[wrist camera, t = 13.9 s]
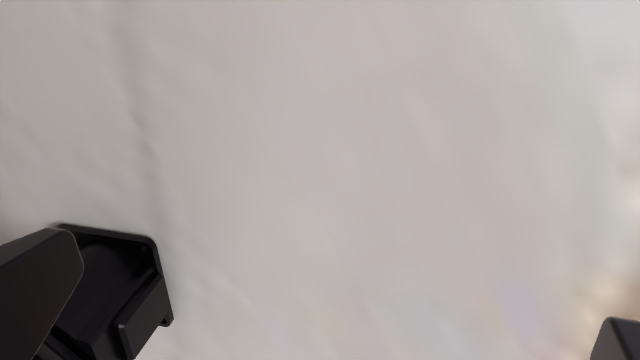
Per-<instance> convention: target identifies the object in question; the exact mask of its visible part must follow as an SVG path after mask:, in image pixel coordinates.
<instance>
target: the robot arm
mask: <svg viewBox="0 0 640 360" xmlns="http://www.w3.org/2000/svg"><path fill="white" fill-rule="evenodd" d="M173 320H174V317H173V313H172V309H171V305H170V300H169V296H168V292H167V288H166V284H165V279H164V275H163V271H162V267H161V263H160V259H159V255H158V250H157V246H156V244H155V243H154V241H153V240H151V239H149V238H146V237H139V236H133V235H126V234H120V233H113V232H107V231H101V230H94V229H88V228H81V227H75V226H68V225H62V224H61V225H58V226H57V227H55V228H45V229H42V230H40V231H37V232H34V233H32V234H29V235H27V236H24V237H22V238H19V239H16V240H14V241H11V242H9V243H6V244H3V245H1V246H0V360H134V359H135V358H136V356H137V355H138V354H139V352H140V351H141V349H142V348H143V347H144V345H145V344H146V342H147V341H148V339H149V338H150V337H151V335H152V334H153V332H154V331H155V330H156V328H157V327H158V326H163V327H168V326H170V324H171V323H172V321H173ZM590 360H640V322H639V321H636V320H631V319H625V318H619V317H608V318H606V319H605V320H604V322H603V324H602V326H601V329H600V332H599V334H598V337H597V340H596V342H595V345H594V347H593V350H592V353H591V356H590Z"/></svg>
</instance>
